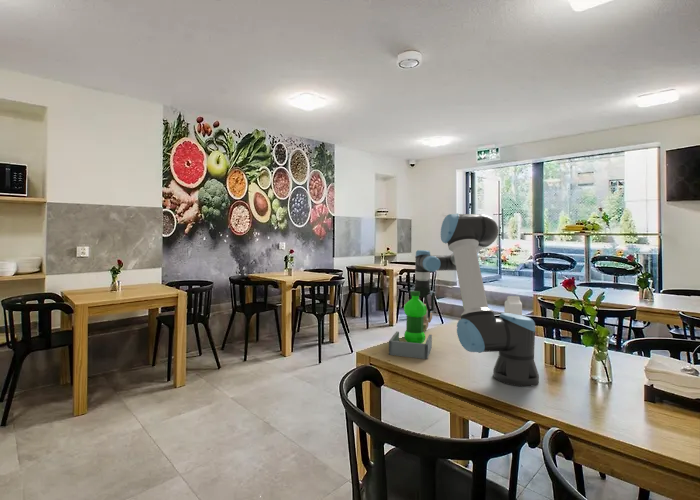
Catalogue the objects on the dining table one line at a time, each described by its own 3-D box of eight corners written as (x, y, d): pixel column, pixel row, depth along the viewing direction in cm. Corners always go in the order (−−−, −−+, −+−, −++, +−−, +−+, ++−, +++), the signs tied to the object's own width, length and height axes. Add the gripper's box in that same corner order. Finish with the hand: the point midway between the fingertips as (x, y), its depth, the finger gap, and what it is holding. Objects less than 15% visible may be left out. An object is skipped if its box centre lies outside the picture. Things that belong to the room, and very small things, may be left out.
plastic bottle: (424, 348, 169) (425, 293, 167) (401, 346, 172) (402, 292, 171) (427, 342, 178) (428, 290, 177) (405, 340, 181) (406, 289, 180)
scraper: (425, 331, 183) (426, 311, 182) (409, 329, 185) (409, 309, 185) (432, 318, 209) (432, 300, 209) (417, 316, 212) (418, 299, 211)
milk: (503, 339, 184) (504, 295, 183) (515, 339, 184) (516, 295, 183) (508, 343, 178) (509, 297, 177) (521, 343, 178) (522, 297, 177)
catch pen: (427, 359, 155) (427, 345, 155) (388, 354, 160) (388, 340, 160) (431, 347, 170) (431, 334, 170) (396, 344, 175) (396, 331, 175)
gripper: (440, 279, 196) (439, 323, 198) (406, 277, 202) (405, 320, 204) (439, 281, 189) (438, 326, 191) (404, 279, 195) (403, 323, 197)
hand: (421, 323), depth 197 cm, fingers closed on scraper, 5 cm apart
